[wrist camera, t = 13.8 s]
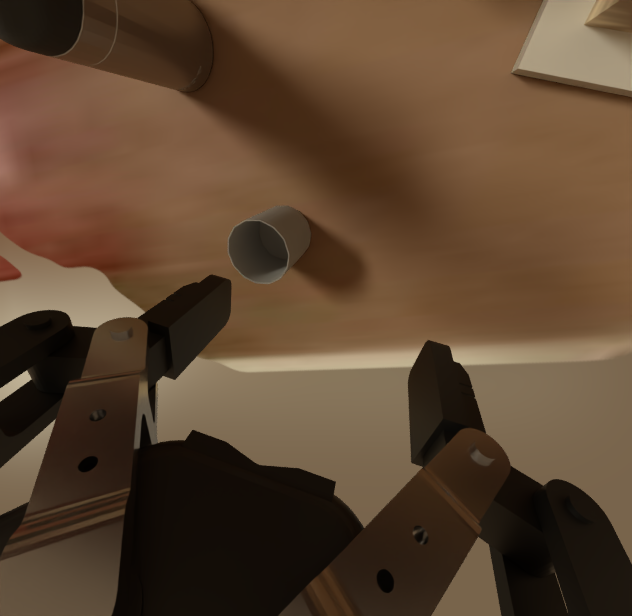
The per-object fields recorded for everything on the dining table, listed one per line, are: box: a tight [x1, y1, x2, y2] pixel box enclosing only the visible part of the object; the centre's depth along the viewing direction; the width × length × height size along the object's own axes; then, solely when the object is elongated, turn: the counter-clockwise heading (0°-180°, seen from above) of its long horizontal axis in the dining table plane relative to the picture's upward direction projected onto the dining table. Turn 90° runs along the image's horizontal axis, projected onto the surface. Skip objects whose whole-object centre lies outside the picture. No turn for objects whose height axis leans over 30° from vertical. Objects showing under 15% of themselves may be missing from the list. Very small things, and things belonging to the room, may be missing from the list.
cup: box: [228, 206, 311, 284], centre depth 40 cm, size 8×8×10 cm
